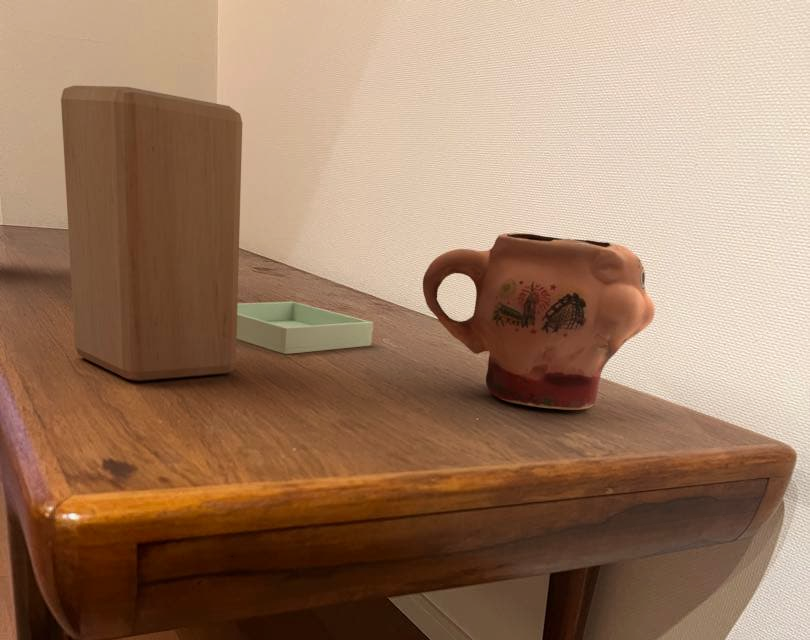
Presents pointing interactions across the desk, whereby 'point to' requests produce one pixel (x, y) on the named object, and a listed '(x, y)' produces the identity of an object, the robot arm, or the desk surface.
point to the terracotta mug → (546, 313)
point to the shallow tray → (299, 327)
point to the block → (153, 230)
